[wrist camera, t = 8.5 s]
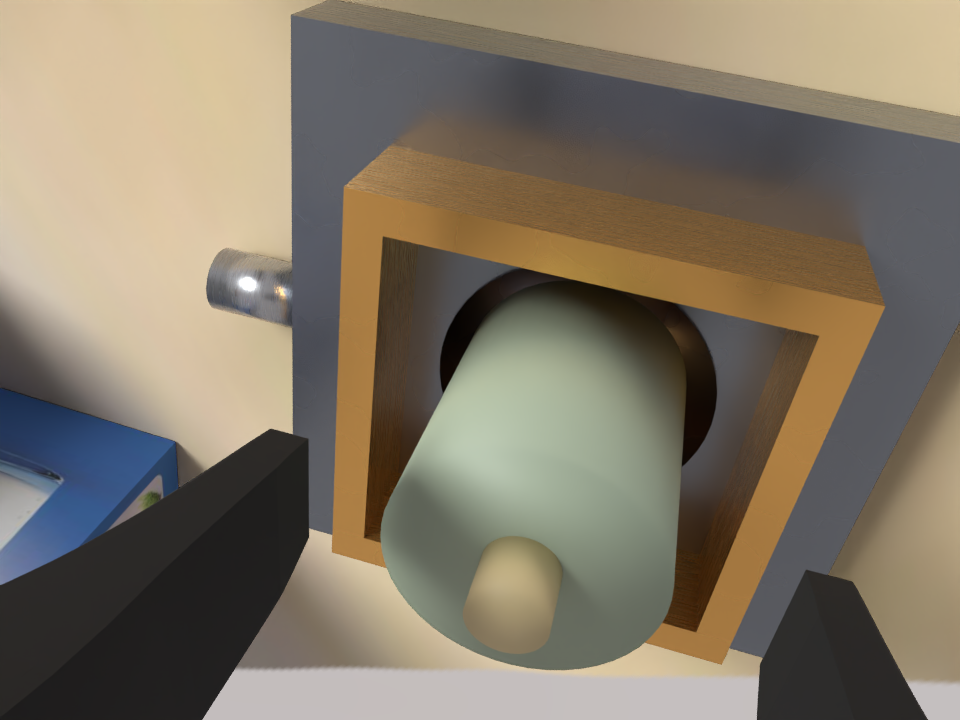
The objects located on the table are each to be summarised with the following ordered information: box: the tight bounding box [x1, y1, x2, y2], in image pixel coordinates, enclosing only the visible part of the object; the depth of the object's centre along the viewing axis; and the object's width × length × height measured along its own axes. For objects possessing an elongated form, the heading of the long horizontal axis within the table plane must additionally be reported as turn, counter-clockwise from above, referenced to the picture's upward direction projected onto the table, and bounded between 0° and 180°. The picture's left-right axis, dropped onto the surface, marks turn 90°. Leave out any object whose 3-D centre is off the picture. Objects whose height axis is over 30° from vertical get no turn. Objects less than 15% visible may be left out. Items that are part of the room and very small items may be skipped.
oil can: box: [380, 280, 687, 670], centre depth 16 cm, size 5×5×7 cm
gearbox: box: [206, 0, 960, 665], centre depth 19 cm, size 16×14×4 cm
